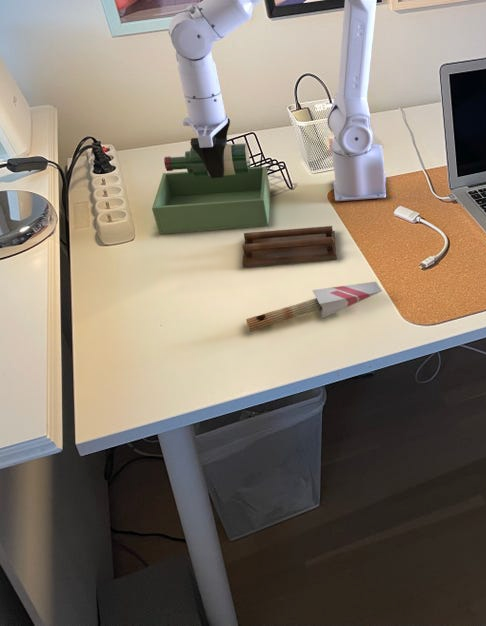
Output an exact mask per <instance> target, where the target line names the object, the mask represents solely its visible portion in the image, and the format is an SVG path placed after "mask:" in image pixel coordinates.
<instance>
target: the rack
mask: <svg viewBox="0 0 486 626" xmlns="http://www.w3.org/2000/svg"><path fill="white" fill-rule="evenodd" d="M243 239H244V243H243V244H242V251H243V254H242V268H252V267H253V268H255V267H265V266H276V265H287V264H299V263H311V262H320V261H334V260H337V259H338V251H337V241H336V240H337V237H336V230H333V226H332V225H327V226H325V225H324V226H313V227H300V228H299V227H298V228H288V229H275V230H263V231H252V232H251V231H250V232H243Z"/></svg>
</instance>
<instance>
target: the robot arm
mask: <svg viewBox="0 0 486 626" xmlns="http://www.w3.org/2000/svg"><path fill="white" fill-rule="evenodd" d="M262 1H263V0H201V1H200V2H199V3H197V4H196V5H193V4H190V5H187V7H186V10H187V12H185V11H182V12H178V13H177V14H175V15H174V16H173V17H172V19H171V20H170V23H169V27H168V35H169V37H170V40H171V43H172V46H173V48H174V49H175V58H176V61H177V70H178V75H179V79H180V83H181V88H182V91H183V92H182V93H183V96H184V101H185V106H186V109H187V113H188V116H187V117H183V119H182V125H183V126H184V127H190V128H191V129H192V131H193V132H194V133H195V135H196V136H197V137H192V138H190V147H192V148H193V149H194V150H195V151H196V152H197V154H198V155H199V156H200V158H201V159H202V161H203V163H204V165H205V167H206V169H207V171H208V173H209V175H210V177H211V178H220V177H224V149H225V146H226V144H228V132H229V128H230V124H231V120H230V118H228V115H227V114H226V111H225V105H224V100H223V96H222V94H223V93H222V89H221V86H220V85H221V84H220V81H219V75H218V71H217V70H218V69H217V65H216V62H215V61H214V59H213V53H212V50H213V46H214V42H218V41H221V40H222V39H223V38H225V37H227V36H228V35H229V34H230V33H232V32H234V31H235V30H236V29H238V28H239V27H240V26H242V25H243V24H245V23H247V22H248V21H250V20H251V19H252V17H253V11H254V7H255V6H256V5H257V4H259V3H261V2H262ZM376 9H377V0H344V7H343V21H342V34H341V46H340V47H341V48H340V59H339V60H340V61H339V74H338V84H337V85H338V86H337V87H338V88H337V93H336V94H335V96H333V105H332V107H331V109H330V110H329V112H328V114H327V119H326V123H327V126H328V129H329V130H330V132H331V133H332V134H333V135H334V137H333V140H332V142H331V146H330V147H331V153H332V154H331V155H332V164H333V173H334V174H333V175H334V180H333V181H332V182H333V183H332V184H333V192H334V193H333V194H334V201H335V202H347V201H349V202H350V201H359V200H360V201H361V200H362V201H363V200H373V199H375V200H376V199H385V198H386V197H387V193H386V191H387V189H386V183H387V175H386V173H385V163H384V153H383V146H382V145H381V144H374V143H373V142H374V134H373V130H372V128H371V121H370V120H371V119H370V118H371V113H370V108H369V103H368V91H369V82H370V81H369V80H370V73H371V72H370V71H371V60H372V51H373V50H372V49H373V41H374V31H375V20H376Z"/></svg>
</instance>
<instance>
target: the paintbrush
mask: <svg viewBox="0 0 486 626" xmlns="http://www.w3.org/2000/svg"><path fill="white" fill-rule="evenodd" d="M311 291H312V293H313V295H314V297H315V298H313V299H310V300H306V301H302V302H299V303H296V304H292V305H289V306H285V307H282V308H279V309H275V310H271V311H268V312H266V313H262V314H259V315H255V316H252V317H249V318H246V319H245V321H246V324H247V328H248V331H249V332H251V331H255V330H259V329H261V328H264V327H267V326H272V325H274V324H277V323H278V324H279V323H281V322H285V321H287V320H288V321H289V320H290V319H293V318H297V317H300V316H303V315H306V314H310V313H313V312H316V311H318V313H319V316H320V317H321V318H322V319H324V318H326V317H327V316H331V315H333V314H335V313H337V312H340V311H342V310H344V309H346V308H348V307H350V306H352V305H355V304H357V303H360V302H362V301H364V300H367V299H368V298H370V297H373V296H374V295H377V294H379V293H381V292H383V289H382V288H381V286H380V285H379V284H378V282H377V281H370V282H363V283H354V284H349V285H348V284H347V285H341V286H340V285H339V286H333V287H326V288H325V287H324V288H318V289H311Z"/></svg>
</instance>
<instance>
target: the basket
mask: <svg viewBox="0 0 486 626" xmlns="http://www.w3.org/2000/svg"><path fill="white" fill-rule="evenodd" d="M250 168H251V171H250V174H240V175H228V176H224V177H220V178H211V177H195V176H194V174H189V173H188V171H177V172H176V171H175V172H174V171H173V172H163V173H162V175H161V179H160V182H159V185H158V188H157V192H156V194H155V197H154V201H153V204H152V207H151V210H152V213H153V214H152V215H153V217H154V221H155V224H156V227H157V231H158V234H159V235H167V234H180V233H181V234H182V233H192V232H193V233H195V232H205V231H219V230H229V229H241V228H242V229H243V228H255V227H266V226H269V222H270V204H271V203H270V202H271V187H270V182H269V181H270V180H269V176H268V169H267V166H250ZM250 187H251V189H250Z"/></svg>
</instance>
